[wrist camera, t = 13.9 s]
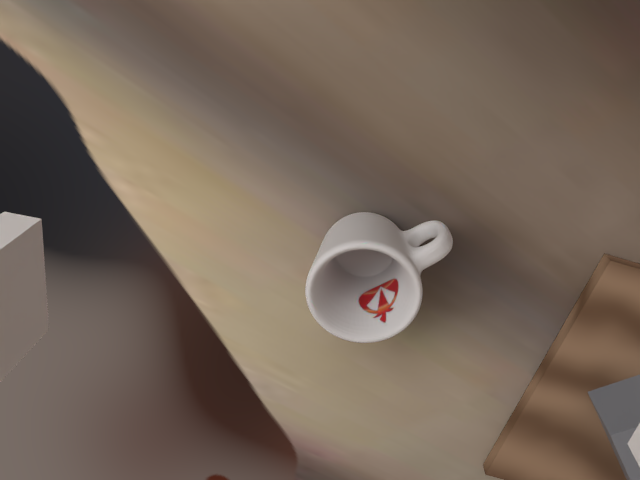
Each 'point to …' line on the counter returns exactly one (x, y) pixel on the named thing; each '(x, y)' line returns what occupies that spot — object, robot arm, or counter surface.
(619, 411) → the grey rectangular frame block
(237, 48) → the counter surface
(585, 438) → the post board
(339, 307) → the cup
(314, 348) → the counter surface
